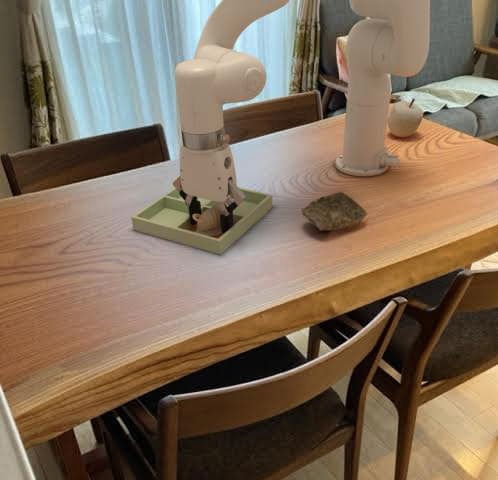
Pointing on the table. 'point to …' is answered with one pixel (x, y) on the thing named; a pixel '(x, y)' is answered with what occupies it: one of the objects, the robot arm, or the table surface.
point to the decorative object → (404, 118)
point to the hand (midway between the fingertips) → (211, 225)
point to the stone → (334, 212)
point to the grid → (180, 229)
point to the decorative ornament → (209, 222)
